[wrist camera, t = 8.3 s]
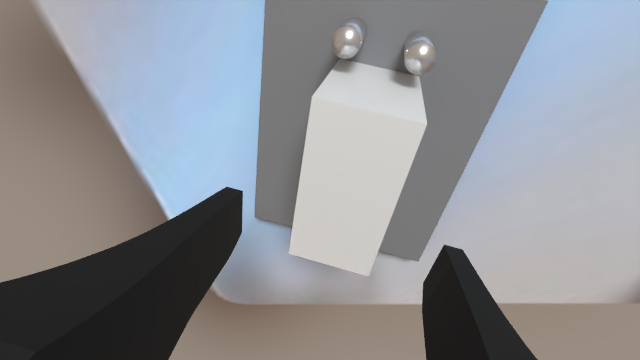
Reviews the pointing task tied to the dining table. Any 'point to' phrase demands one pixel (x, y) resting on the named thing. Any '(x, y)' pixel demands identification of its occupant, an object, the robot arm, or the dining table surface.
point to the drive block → (355, 163)
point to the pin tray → (398, 55)
